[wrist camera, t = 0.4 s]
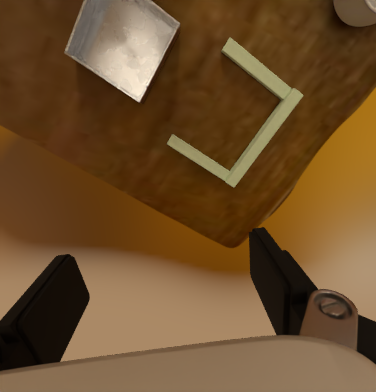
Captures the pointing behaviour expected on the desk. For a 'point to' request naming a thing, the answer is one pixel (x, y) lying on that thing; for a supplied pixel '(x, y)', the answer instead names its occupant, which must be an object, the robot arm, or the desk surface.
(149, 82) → the baking pan
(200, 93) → the desk surface
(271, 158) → the desk surface
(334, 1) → the teacup
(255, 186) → the desk surface
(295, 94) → the bracket
